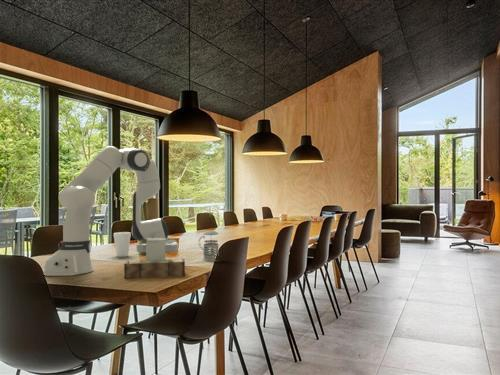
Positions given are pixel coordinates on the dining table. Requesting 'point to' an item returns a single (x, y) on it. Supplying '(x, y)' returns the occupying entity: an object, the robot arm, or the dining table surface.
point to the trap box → (154, 269)
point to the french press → (210, 246)
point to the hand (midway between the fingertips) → (156, 249)
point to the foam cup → (122, 243)
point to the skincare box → (155, 249)
